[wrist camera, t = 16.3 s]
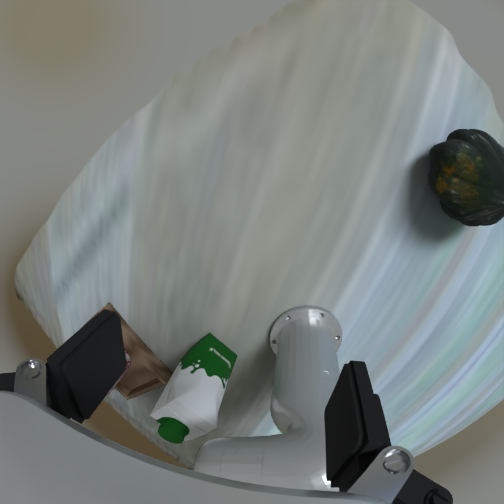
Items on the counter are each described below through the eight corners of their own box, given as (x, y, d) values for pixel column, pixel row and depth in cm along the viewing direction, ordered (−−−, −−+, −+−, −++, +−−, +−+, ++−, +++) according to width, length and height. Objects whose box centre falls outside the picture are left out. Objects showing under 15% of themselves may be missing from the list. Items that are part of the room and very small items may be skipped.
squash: (434, 100, 28) (483, 174, 20) (503, 125, 27) (549, 196, 19) (407, 170, 40) (432, 247, 33) (471, 183, 39) (499, 252, 31)
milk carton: (182, 350, 52) (139, 423, 33) (209, 326, 49) (168, 404, 30) (215, 376, 53) (185, 453, 34) (244, 355, 50) (220, 439, 31)
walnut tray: (172, 373, 55) (166, 383, 51) (133, 391, 59) (127, 399, 56) (109, 302, 52) (100, 309, 48) (79, 330, 56) (70, 338, 53)
